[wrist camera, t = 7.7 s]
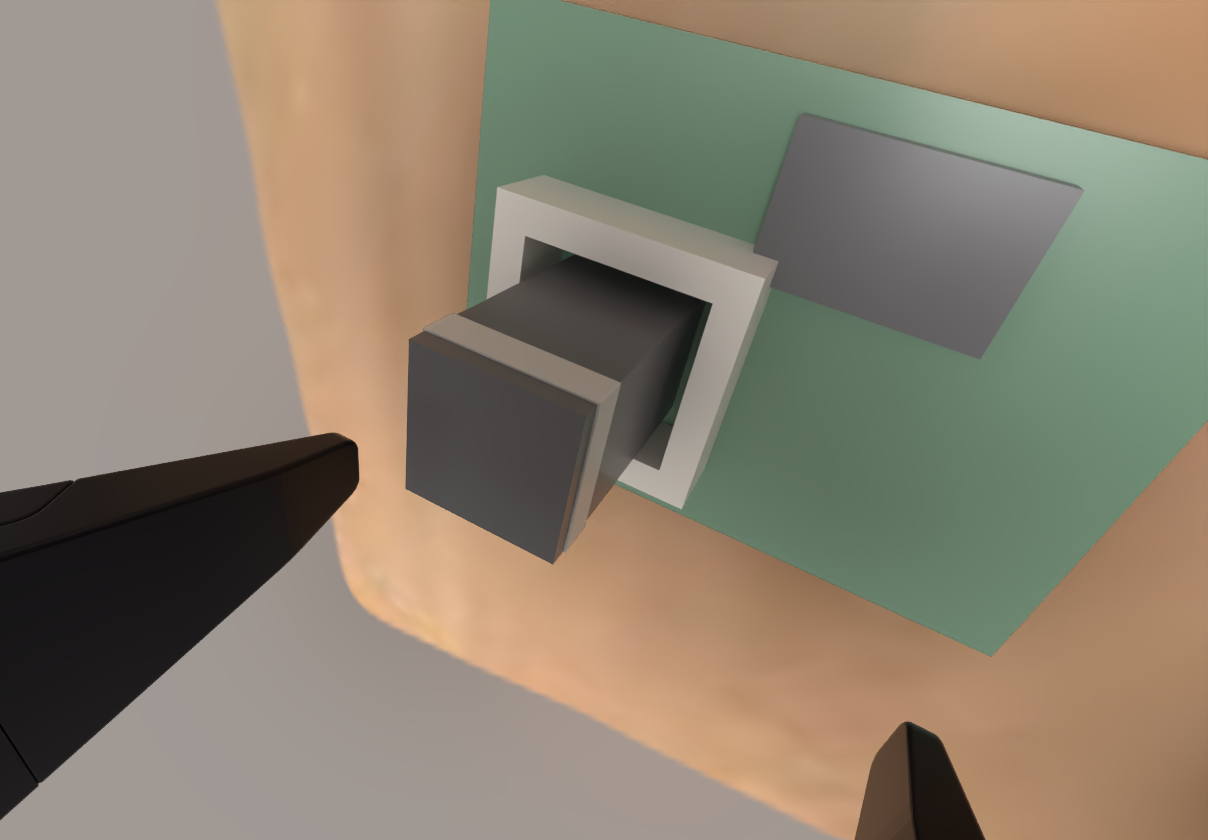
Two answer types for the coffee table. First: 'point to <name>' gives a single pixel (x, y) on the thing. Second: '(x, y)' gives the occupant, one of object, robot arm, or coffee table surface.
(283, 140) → the coffee table surface
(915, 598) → the circuit board
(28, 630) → the robot arm
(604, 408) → the black plug
